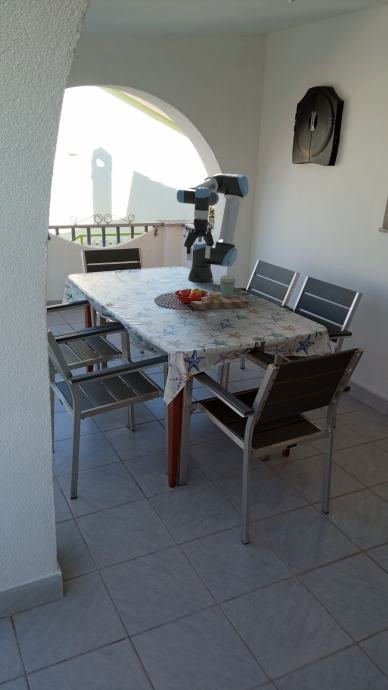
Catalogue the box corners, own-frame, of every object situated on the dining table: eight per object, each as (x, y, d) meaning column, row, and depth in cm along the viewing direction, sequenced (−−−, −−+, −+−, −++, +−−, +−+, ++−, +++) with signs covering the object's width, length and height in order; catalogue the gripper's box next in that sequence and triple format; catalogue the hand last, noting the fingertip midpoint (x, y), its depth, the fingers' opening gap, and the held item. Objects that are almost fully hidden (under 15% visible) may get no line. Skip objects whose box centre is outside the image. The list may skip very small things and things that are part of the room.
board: (238, 301, 274) (239, 295, 273) (248, 306, 266) (248, 300, 265) (187, 304, 261) (188, 299, 260) (196, 310, 253) (196, 304, 252)
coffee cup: (236, 298, 279) (238, 277, 275) (229, 301, 272) (231, 279, 268) (222, 295, 283) (224, 274, 279) (215, 298, 276) (217, 276, 272)
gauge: (217, 299, 264) (217, 291, 263) (223, 301, 260) (224, 294, 259) (198, 301, 257) (198, 293, 256) (204, 304, 253) (205, 296, 252)
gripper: (212, 217, 276) (209, 256, 284) (178, 218, 260) (176, 259, 267) (222, 218, 271) (219, 258, 279) (188, 220, 255) (186, 262, 262)
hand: (198, 259), depth 273 cm, fingers open, 13 cm apart
